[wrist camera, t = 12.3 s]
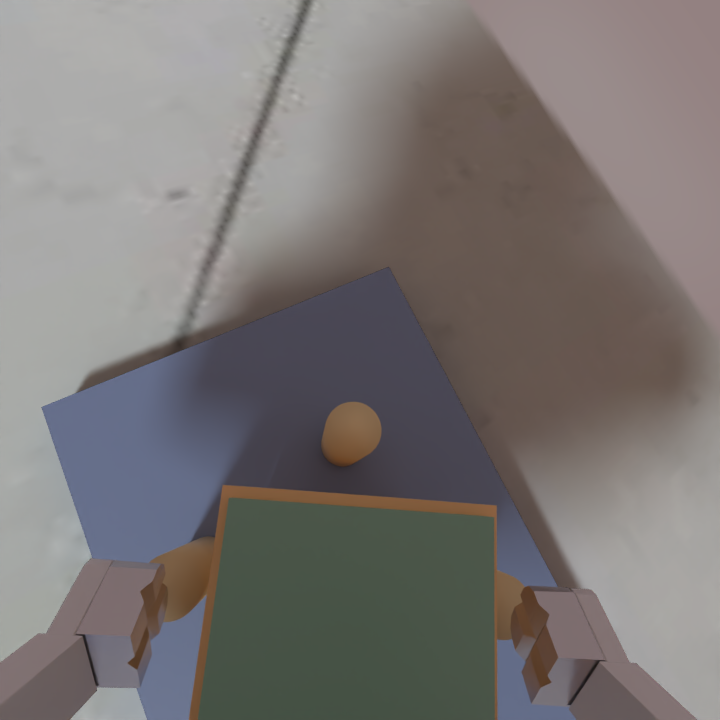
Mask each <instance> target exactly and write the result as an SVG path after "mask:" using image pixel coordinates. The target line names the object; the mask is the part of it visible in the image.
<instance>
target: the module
mask: <svg viewBox="0 0 720 720" xmlns="http://www.w3.org/2000/svg"><path fill="white" fill-rule="evenodd" d="M189 720H498V703H497V505H484V504H471V503H459V502H446V501H433V500H421V499H408V498H395V497H382V496H368V495H355V494H342V493H328V492H315V491H302V490H289V489H275V488H261V487H246V486H231V485H223V486H222V493H221V500H220V507H219V514H218V521H217V528H216V535H215V541H214V548H213V555H212V562H211V569H210V576H209V583H208V590H207V597H206V603H205V610H204V617H203V624H202V631H201V638H200V645H199V652H198V659H197V666H196V672H195V679H194V686H193V693H192V700H191V707H190V714H189Z"/></svg>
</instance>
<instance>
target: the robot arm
mask: <svg viewBox="0 0 720 720" xmlns="http://www.w3.org/2000/svg"><path fill="white" fill-rule="evenodd" d="M165 574H166V572H165V566H164V564H158V563H145V562H133V561H120V560H109V559H92V558H91V559H90V560H89V561H88V562H87V563H86V564H85V565H84V566H83V568H82V570H81V572H80V573H79V575H78V577H77V579H76V580H75V582H74V584H73V586H72V588H71V589H70V591H69V593H68V595H67V597H66V598H65V600H64V602H63V604H62V606H61V607H60V609H59V611H58V613H57V615H56V616H55V618H54V620H53V622H52V624H51V625H50V627H49V629H48V631H47V633H46V634H41V633H38V634H37V635H36V636H34V637H33V638H32V639H30V640H29V641H28V642H27V643H25V644H24V645H23V646H21V647H20V648H19V649H17V650H16V651H15V652H13V653H12V654H11V655H10V656H8V657H7V658H6V659H4V660H3V661H2V662H0V720H70V719H71V718H72V717H73V715H74V714H75V713H76V712H77V711H78V710H79V709H80V708H81V707H82V706H83V705H84V704H85V703H86V702H87V701H88V699H89V698H90V697H91V696H92V695H93V694H94V693H95V692H96V691H97V687H108V688H140V687H141V685H142V682H143V679H144V676H145V673H146V670H147V668H148V665H149V662H150V659H151V656H152V649H151V642H150V641H151V640H152V639H153V638H154V637H156V636H157V635H158V634H159V633H160V630H161V627H162V624H163V621H164V618H165V613H166V608H167V602H168V589H167V586H166V585H165V584H163V583H162V582H163V580H164V577H165ZM520 596H521V599H522V603H520V604H519V605H517V606H515V607H514V610H513V613H512V615H511V627H510V629H511V636H512V641H513V644H514V648H515V651H516V652H517V653H518V654H519V655H520V656H521V658H522V659H523V660H524V661H525V663H524V666H523V669H522V671H521V672H522V675H523V678H524V682H525V685H526V688H527V692H528V695H529V698H530V702H531V704H536V705H549V706H563V707H569V711H570V712H571V713H572V714H573V716H574V717H575V718H576V720H697V719H696V718H695V717H694V716H693V715H692V714H691V713H690V712H688V711H687V710H686V709H685V708H684V707H683V706H682V705H681V704H680V703H679V702H678V701H677V700H676V699H674V698H673V697H672V696H671V695H670V694H669V693H668V692H667V691H666V690H665V689H664V688H663V687H662V686H660V685H659V684H658V683H657V682H656V681H655V680H654V679H653V678H652V677H651V676H650V675H649V674H647V673H646V672H645V671H644V670H643V669H642V668H641V667H640V666H639V665H638V664H637V663H630V662H629V660H628V658H627V656H626V654H625V652H624V650H623V648H622V646H621V644H620V642H619V640H618V638H617V636H616V634H615V632H614V630H613V628H612V626H611V624H610V622H609V620H608V618H607V616H606V614H605V612H604V610H603V608H602V606H601V604H600V602H599V600H598V598H597V596H596V594H595V593H594V592H593V591H592V590H590V589H575V588H567V587H548V586H526V587H525V588H523V590H522V592H521V594H520Z"/></svg>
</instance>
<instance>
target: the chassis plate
mask: <svg viewBox="0 0 720 720" xmlns="http://www.w3.org/2000/svg"><path fill="white" fill-rule="evenodd" d="M42 410H43V413H44V416H45V419H46V422H47V425H48V428H49V431H50V434H51V437H52V440H53V443H54V445H55V448H56V451H57V454H58V457H59V460H60V463H61V466H62V469H63V472H64V475H65V478H66V481H67V484H68V487H69V490H70V493H71V496H72V499H73V502H74V505H75V508H76V510H77V513H78V516H79V519H80V522H81V525H82V528H83V531H84V534H85V537H86V540H87V543H88V546H89V549H90V552H91V555H92V558H93V559H109V560H120V561H133V562H145V563H158V564H164V566H165V572H166V574H165V577H164V580H163V582H162V583H163V584H165V585H166V586H167V589H168V602H167V608H166V613H165V618H164V621H163V624H162V627H161V630H160V633H159V634H158V635H157V636H156V637H154V638H153V639H152V640H151V641H150V642H151V649H152V656H151V659H150V662H149V665H148V668H147V670H146V673H145V676H144V679H143V682H142V685H141V687H140V688H137V691H138V694H139V697H140V700H141V703H142V705H143V708H144V711H145V714H146V717H147V720H189V714H190V707H191V700H192V693H193V686H194V679H195V672H196V666H197V659H198V652H199V645H200V638H201V631H202V624H203V617H204V610H205V603H206V597H207V590H208V583H209V576H210V569H211V562H212V555H213V548H214V541H215V535H216V528H217V521H218V514H219V507H220V500H221V493H222V486H223V485H231V486H246V487H261V488H275V489H289V490H302V491H315V492H328V493H342V494H355V495H368V496H382V497H395V498H408V499H421V500H433V501H446V502H459V503H471V504H484V505H497V703H498V720H576V718H575V717H574V716H573V714H572V713H571V712H570V711H569V707H563V706H549V705H536V704H531V702H530V698H529V695H528V692H527V688H526V685H525V682H524V678H523V675H522V672H521V671H522V669H523V666H524V663H525V661H524V660H523V659H522V658H521V656H520V655H519V654H518V653H517V652H516V651H515V648H514V644H513V641H512V636H511V629H510V627H511V615H512V613H513V610H514V607H515V606H517V605H519V604H520V603H522V599H521V596H520V594H521V592H522V590H523V588H525V587H526V586H548V587H558V586H557V584H556V582H555V580H554V578H553V577H552V575H551V573H550V571H549V569H548V567H547V565H546V563H545V561H544V560H543V558H542V556H541V554H540V552H539V550H538V548H537V546H536V544H535V543H534V541H533V539H532V537H531V535H530V533H529V531H528V529H527V527H526V525H525V524H524V522H523V520H522V518H521V516H520V514H519V512H518V510H517V508H516V507H515V505H514V503H513V501H512V499H511V497H510V495H509V493H508V491H507V490H506V488H505V486H504V484H503V482H502V480H501V478H500V476H499V474H498V472H497V471H496V469H495V467H494V465H493V463H492V461H491V459H490V457H489V455H488V454H487V452H486V450H485V448H484V446H483V444H482V442H481V440H480V438H479V437H478V435H477V433H476V431H475V429H474V427H473V425H472V423H471V421H470V420H469V418H468V416H467V414H466V412H465V410H464V408H463V406H462V404H461V402H460V401H459V399H458V397H457V395H456V393H455V391H454V389H453V387H452V385H451V384H450V382H449V380H448V378H447V376H446V374H445V372H444V370H443V368H442V367H441V365H440V363H439V361H438V359H437V357H436V355H435V353H434V351H433V349H432V348H431V346H430V344H429V342H428V340H427V338H426V336H425V334H424V332H423V331H422V329H421V327H420V325H419V323H418V321H417V319H416V317H415V315H414V314H413V312H412V310H411V308H410V306H409V304H408V302H407V300H406V298H405V297H404V295H403V293H402V291H401V289H400V287H399V285H398V283H397V281H396V279H395V278H394V276H393V274H392V272H391V270H390V268H389V267H387V268H385V269H382V270H380V271H377V272H375V273H372V274H370V275H367V276H365V277H362V278H360V279H357V280H355V281H352V282H350V283H348V284H345V285H343V286H340V287H338V288H335V289H333V290H330V291H328V292H325V293H323V294H320V295H318V296H315V297H313V298H310V299H308V300H305V301H303V302H301V303H298V304H296V305H293V306H291V307H288V308H286V309H283V310H281V311H278V312H276V313H273V314H271V315H268V316H266V317H263V318H261V319H258V320H256V321H254V322H251V323H249V324H246V325H244V326H241V327H239V328H236V329H234V330H231V331H229V332H226V333H224V334H221V335H219V336H216V337H214V338H211V339H209V340H206V341H204V342H202V343H199V344H197V345H194V346H192V347H189V348H187V349H184V350H182V351H179V352H177V353H174V354H172V355H169V356H167V357H164V358H162V359H159V360H157V361H155V362H152V363H150V364H147V365H145V366H142V367H140V368H137V369H135V370H132V371H130V372H127V373H125V374H122V375H120V376H117V377H115V378H112V379H110V380H108V381H105V382H103V383H100V384H98V385H95V386H93V387H90V388H88V389H85V390H83V391H80V392H78V393H75V394H73V395H70V396H68V397H65V398H63V399H60V400H58V401H56V402H53V403H51V404H48V405H46V406H43V407H42Z"/></svg>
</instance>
